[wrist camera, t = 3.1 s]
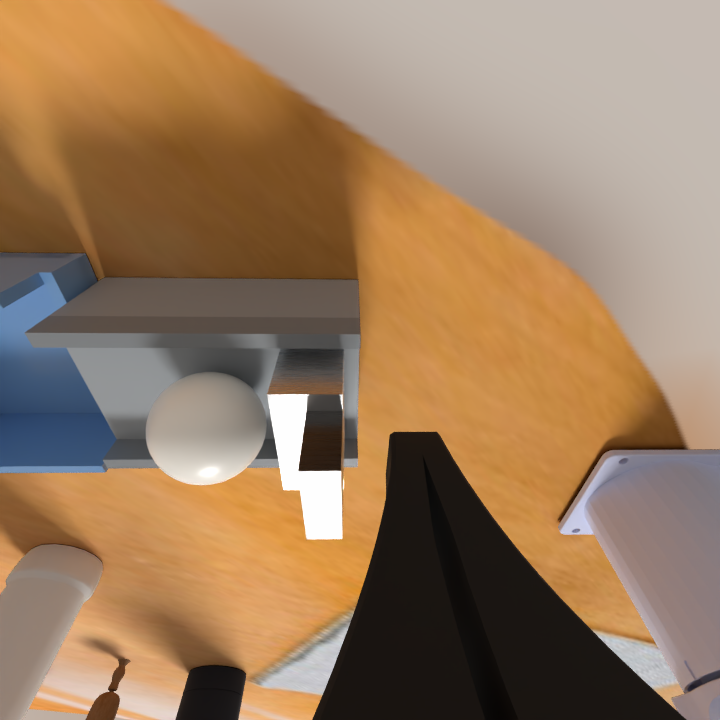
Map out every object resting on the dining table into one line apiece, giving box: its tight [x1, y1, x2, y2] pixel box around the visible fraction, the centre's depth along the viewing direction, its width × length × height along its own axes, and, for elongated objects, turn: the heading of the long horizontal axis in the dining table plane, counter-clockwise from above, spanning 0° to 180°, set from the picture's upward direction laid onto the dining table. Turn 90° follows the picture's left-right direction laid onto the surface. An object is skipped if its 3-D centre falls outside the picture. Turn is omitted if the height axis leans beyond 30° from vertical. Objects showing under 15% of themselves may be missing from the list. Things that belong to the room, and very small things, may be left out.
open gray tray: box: [25, 277, 360, 468], centre depth 14 cm, size 10×6×4 cm, turn 89°
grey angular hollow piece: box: [267, 349, 345, 539], centre depth 11 cm, size 2×4×4 cm, turn 179°
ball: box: [146, 372, 267, 485], centre depth 11 cm, size 4×4×4 cm
